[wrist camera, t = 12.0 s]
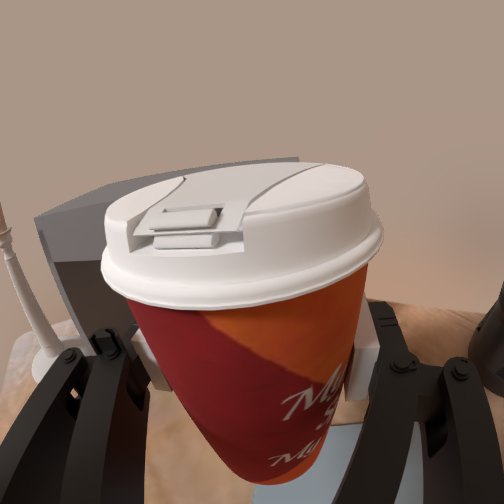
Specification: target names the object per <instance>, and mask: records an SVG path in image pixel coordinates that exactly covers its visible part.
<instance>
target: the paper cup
mask: <svg viewBox="0 0 504 504" xmlns="http://www.w3.org/2000/svg"><path fill="white" fill-rule="evenodd" d="M184 181H185V182H184ZM104 226H105V234H106V241H107V246H106V247H105V249H104V252H103V254H102V261H101V272H102V274H103V277H104V280H105V282H106V283H107V284H108V285H109V286H110V287H111V288H112V289H113V290H114V291H116V292H118V293H119V294H121V295H123V296H124V297H125V298H126V300H127V303H128V305H129V307H130V309H131V311H132V314H133V316H134V318H135V320H136V322H137V324H138V326H139V328H140V330H141V332H142V334H143V336H144V338H145V340H146V342H147V344H148V346H149V348H150V350H151V352H152V353H153V355H154V357H155V359H156V361H157V363H158V364H159V366H160V368H161V370H162V372H163V373H164V375H165V377H166V379H167V380H168V382H169V384H170V385H171V387H172V389H173V390H174V392H175V394H176V395H177V397H178V398H179V400H180V402H181V403H182V405H183V406H184V408H185V409H186V411H187V413H188V414H189V416H190V417H191V419H192V420H193V422H194V423H195V424H196V426H197V427H198V429H199V430H200V432H201V433H202V434H203V436H204V437H205V439H206V440H207V441H208V443H209V444H210V445H211V447H212V448H213V449H214V451H215V452H216V453H217V454H218V456H219V457H220V458H221V459H222V461H223V462H224V463H225V464H226V465H227V466H228V467H229V468H230V469H231V470H232V471H233V472H234V473H235V474H236V475H238V476H239V477H241V478H242V479H244V480H246V481H249V482H251V483H255V484H260V485H279V484H283V483H287V482H290V481H292V480H294V479H296V478H298V477H300V476H301V475H303V474H304V473H305V472H307V471H308V470H309V469H310V468H311V466H312V465H313V464H314V462H315V461H316V459H317V457H318V456H319V453H320V451H321V449H322V447H323V444H324V442H325V439H326V436H327V434H328V431H329V428H330V425H331V422H332V419H333V416H334V413H335V410H336V407H337V404H338V400H339V397H340V394H341V390H342V387H343V383H344V380H345V376H346V372H347V368H348V364H349V360H350V356H351V352H352V348H353V343H354V339H355V334H356V330H357V325H358V320H359V315H360V310H361V304H362V299H363V293H364V287H365V281H366V274H367V267H368V262H369V261H370V260H371V259H372V258H373V257H374V256H375V255H376V254H377V252H378V251H379V249H380V247H381V245H382V243H383V236H384V235H383V234H384V229H383V226H382V223H381V221H380V219H379V217H378V215H377V214H376V212H375V211H374V210H373V209H372V208H371V204H370V197H369V189H368V185H367V183H366V180H365V178H364V177H363V175H362V174H361V173H360V172H358V171H356V170H354V169H351V168H347V167H343V166H337V165H331V164H323V163H304V162H301V163H300V162H280V163H262V164H250V165H241V166H233V167H226V168H219V169H213V170H208V171H203V172H198V173H193V174H188V175H184V179H183V176H180V177H176V178H172V179H169V180H165V181H162V182H159V183H156V184H152V185H150V186H147V187H144V188H141V189H139V190H137V191H134V192H132V193H130V194H128V195H125V196H123V197H122V198H120V199H118V200H117V201H115V202H114V203H112V204H111V205H110V206H109V207H108V208H107V210H106V214H105V220H104Z"/></svg>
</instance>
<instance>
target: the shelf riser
mask: <svg viewBox="0 0 504 504" xmlns="http://www.w3.org/2000/svg"><path fill="white" fill-rule="evenodd" d="M280 162H299V158H298V157H292V158H291V157H290V158H276V159H266V160H254V161H244V162H235V163H227V164H219V165H211V166H204V167H198V168H190V169H184V170H178V171H172V172H166V173H161V174H155V175H150V176H145V177H140V178H135V179H130V180H126V181H121V182H116V183H112V184H108V185H106V186H103V187H100V188H98V189H96V190H94V191H91V192H89V193H86V194H84V195H82V196H79V197H77V198H75V199H72V200H70V201H68V202H66V203H64V204H62V205H59V206H57V207H55V208H53V209H51V210H49V211H47V212H45V213H43V214H41V215H39V216H37V217H35V218H34V221H35V224H36V228H37V231H38V234H39V238H40V241H41V244H42V246H43V250H44V253H45V255H46V258H47V261H48V264H49V267H50V269H51V272H52V275H53V277H54V280H55V282H56V284H57V287H58V289H59V291H60V294H61V296H62V299H63V301H64V303H65V305H66V307H67V310H68V312H69V314H70V316H71V318H72V320H73V322H74V324H75V326H76V328H77V330H78V332H79V334H80V336H81V338H82V339H83V341H84V343H85V345H86V347H87V348H88V350H89V352H90V354H91V356H95V355H97V354H96V353H95V351H94V349H93V347H92V345H91V344H90V342H89V340H88V338H89V337H90V335H91V334H92V333H93V332H95V331H96V330H98V329H100V328H103V327H113V328H116V329H117V331H118V333H119V335H120V337H121V339H122V337H123V336H124V335H125V333H126V332H127V331H128V329H129V328H130V327H131V325H133V323H134V321H135V318H134V316H133V314H132V311H131V309H130V307H129V305H128V303H127V300H126V298H125V297H124V296H123V295H121V294H119V293H118V292H116V291H114V290H113V289H112V288H111V287H110V286H109V285H108V284H107V283H106V282H105V280H104V277H103V274H102V272H101V261H102V254H103V252H104V249H105V247H106V246H107V241H106V234H105V226H104V220H105V214H106V210H107V208H108V207H109V206H110V205H111V204H112V203H114V202H115V201H117V200H118V199H120V198H122V197H123V196H125V195H128V194H130V193H132V192H134V191H137V190H139V189H141V188H144V187H147V186H150V185H152V184H156V183H159V182H162V181H165V180H169V179H172V178H176V177H180V176H183V179H184V175H188V174H193V173H198V172H203V171H208V170H213V169H219V168H226V167H233V166H241V165H250V164H262V163H280ZM184 182H185V181H184Z"/></svg>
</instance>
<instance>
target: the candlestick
mask: <svg viewBox="0 0 504 504" xmlns="http://www.w3.org/2000/svg"><path fill="white" fill-rule="evenodd" d="M11 228H12V227H10V228H7V227H6V223H5V219H4V216H3V212H2V208H1V204H0V248H2V251H3V253H4V256H5V259H4V260H5V262H6V265H7V268H8V271H9V273H10V276H11V279H12V282H13V285H14V287H15V290H16V292H17V295H18V297H19V300H20V302H21V305H22V307H23V309H24V311H25V314H26V316H27V318H28V320H29V322H30V325H31V327H32V329H33V331H34V333H35V335H36V337H37V339H38V341H39V343H40V345H41V347H42V348H41V349H40V350H39V352H38V353H37V355H36V356H35V358H34V361H33V364H32V376H33V378H34V380H35V381H36V383H37V384H39V383H40V381H41V380H42V378H43V377H44V375H45V374H46V373H47V371H48V370H49V368H50V367H51V366H52V364H53V363H54V361H55V360H56V359H57V357H58V356H59V355H60V354H61V353H62V352H63V351H65V350H66V349H68V348H71V347H77V348H80V350H81V351H82V353H83V354H84V356H91V354H90V352H89V350H88V348H87V347H86V345H85V343H84V341H83V339H82V338H81V336H77V335H66V336H61V337H57V335H56V334H55V332H54V330H53V329H52V327H51V325H50V324H49V322H48V320H47V319H46V317H45V315H44V314H43V312H42V310H41V308H40V306H39V304H38V302H37V300H36V298H35V296H34V294H33V292H32V290H31V288H30V286H29V284H28V282H27V280H26V278H25V276H24V274H23V271H22V269H21V267H20V264H19V262H18V260H17V257H16V254H15V253H14V252H13V250H12V244H11V243H12V237H11V235H10V232H11Z"/></svg>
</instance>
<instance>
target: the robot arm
mask: <svg viewBox="0 0 504 504" xmlns="http://www.w3.org/2000/svg"><path fill="white" fill-rule="evenodd" d="M88 340H89V342H90V344H91V345H92V347H93V349H94V351H95V353H96V354H97V355H95V356H84V354H83V353H82V351H81V350H80V348H77V347H71V348H68V349H66V350H65V351H63V352H62V353H61V354H60V355H59V356H58V357H57V359H56V360H55V361H54V363H53V364H52V366H51V367H50V368H49V370H48V371H47V373H46V374H45V375H44V377H43V378H42V380H41V381H40V383H39V384H38V386H37V387H36V389H35V390H34V392H33V393H32V395H31V396H30V398H29V399H28V401H27V402H26V404H25V405H24V407H23V408H22V410H21V412H20V413H19V415H18V416H17V418H16V420H15V421H14V423H13V425H12V426H11V428H10V430H9V431H8V433H7V435H6V437H5V438H4V440H3V442H2V444H1V446H0V504H144V474H145V451H146V436H147V423H148V412H149V402H150V391H149V390H148V388H147V386H148V384H149V382H150V381H151V382H152V383H153V385H154V387H155V389H158V390H163V391H169V392H172V391H173V389H172V387H171V385H170V384H169V382H168V380H167V379H166V377H165V375H164V373H163V372H162V370H161V368H160V366H159V364H158V363H157V361H156V359H155V357H154V355H153V353H152V352H151V350H150V348H149V346H148V344H147V342H146V340H145V338H144V336H143V334H142V332H141V330H140V328H139V326H138V324H137V322H136V320H135V321H134V323H133V325H131V327H130V328H129V329H128V331H127V332H126V333H125V335H124V336H123V337H122V339H121V337H120V335H119V333H118V331H117V329H116V328H113V327H103V328H100V329H98V330H96V331H95V332H93V333H92V334H91V335H90V337H89V338H88ZM468 356H469V359H466V358H463V357H454V358H451V359H449V360H448V361H447V362H446V363H445V365H444V367H439V366H430V365H425V364H422V363H420V361H419V360H418V358H417V357H416V356H415V355H413V354H412V353H410V352H409V351H408V348H407V345H406V342H405V340H404V337H403V334H402V331H401V329H400V326H399V324H398V321H397V319H396V316H395V313H394V311H393V308H391V307H390V306H389V305H388V304H387V303H386V302H385V301H383V302H368V303H367V299H366V296H365V293H363V299H362V304H361V310H360V315H359V320H358V325H357V330H356V334H355V339H354V343H353V348H352V352H351V356H350V360H349V364H348V368H347V372H346V376H345V380H344V391H345V401H357V400H366V398H367V394H368V393H369V400H370V402H369V405H368V408H367V411H366V414H365V417H364V421H363V425H362V428H361V431H360V434H359V437H358V440H357V443H356V445H355V448H354V451H353V454H352V456H351V459H350V462H349V464H348V467H347V469H346V472H345V474H344V476H343V479H342V481H341V483H340V486H339V488H338V490H337V492H336V495H335V497H334V499H333V501H332V503H331V504H394V503H395V500H396V497H397V494H398V491H399V487H400V484H401V480H402V477H403V473H404V469H405V466H406V461H407V457H408V453H409V448H410V444H411V439H412V433H413V428H414V422H419V424H420V434H421V445H422V460H423V504H504V471H503V465H502V458H501V453H500V447H499V442H498V438H497V433H496V429H495V425H494V421H493V417H492V413H491V410H490V406H489V403H488V400H487V396H486V393H485V390H484V387H483V385H484V386H485V387H486V388H488V389H489V390H490V391H492V392H493V393H495V394H497V395H499V396H501V397H504V282H503V285H502V288H501V292H500V295H499V298H498V300H497V301H496V302H495V304H494V305H493V307H492V308H491V309H490V310H489V312H488V313H487V314H486V316H485V317H484V318H483V320H482V321H481V322H480V323H479V325H478V326H477V328H476V329H475V331H474V334H473V336H472V339H471V341H470V344H469V349H468ZM73 388H74V390H75V391H76V392H77V394H78V396H77V397H76V398H74V397H73V396H72V395H71V393H70V392H71V391H72V389H73Z"/></svg>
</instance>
